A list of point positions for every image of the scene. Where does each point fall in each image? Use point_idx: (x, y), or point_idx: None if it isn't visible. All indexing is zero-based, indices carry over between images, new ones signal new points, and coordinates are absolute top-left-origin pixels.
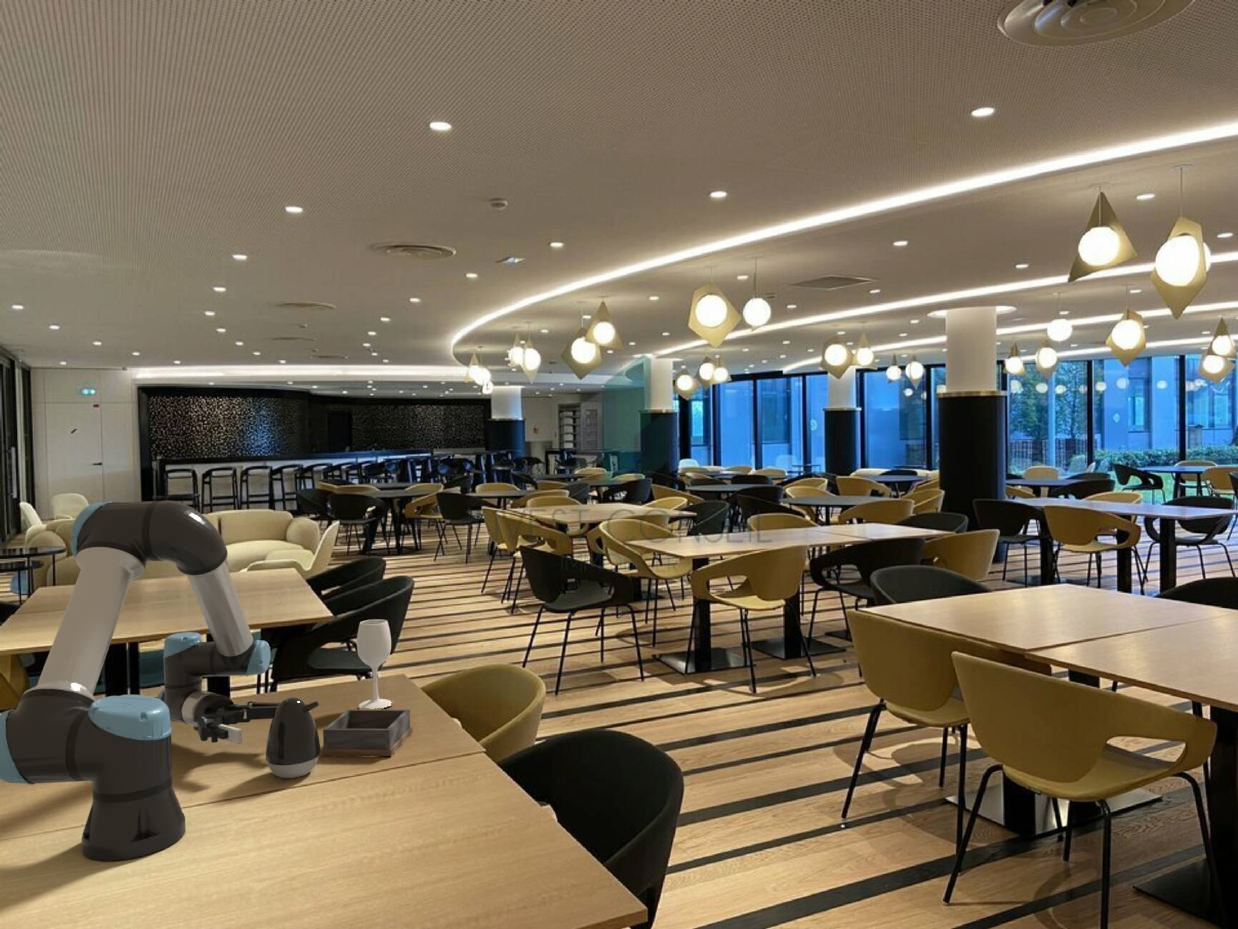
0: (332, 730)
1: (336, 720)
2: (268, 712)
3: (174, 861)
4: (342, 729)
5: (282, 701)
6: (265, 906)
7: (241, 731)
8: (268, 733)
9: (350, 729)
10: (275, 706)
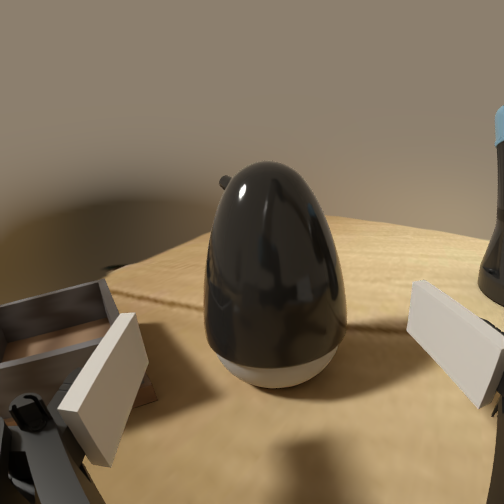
0: None
1: (42, 355)
2: (95, 497)
3: (473, 261)
4: (115, 313)
5: (288, 168)
6: (405, 229)
7: (412, 289)
8: (336, 263)
9: (112, 305)
10: (42, 450)
